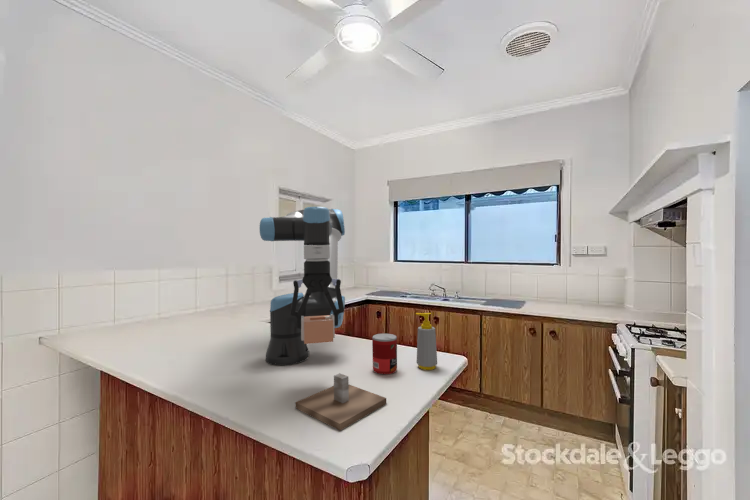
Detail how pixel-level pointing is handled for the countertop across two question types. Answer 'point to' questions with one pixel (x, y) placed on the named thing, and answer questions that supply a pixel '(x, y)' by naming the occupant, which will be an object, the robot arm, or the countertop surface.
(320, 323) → the orange open box
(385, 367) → the canned food
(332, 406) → the base plate
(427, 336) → the soap bottle
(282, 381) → the countertop surface
